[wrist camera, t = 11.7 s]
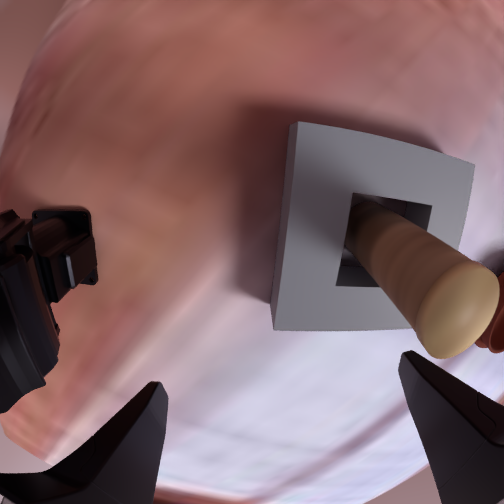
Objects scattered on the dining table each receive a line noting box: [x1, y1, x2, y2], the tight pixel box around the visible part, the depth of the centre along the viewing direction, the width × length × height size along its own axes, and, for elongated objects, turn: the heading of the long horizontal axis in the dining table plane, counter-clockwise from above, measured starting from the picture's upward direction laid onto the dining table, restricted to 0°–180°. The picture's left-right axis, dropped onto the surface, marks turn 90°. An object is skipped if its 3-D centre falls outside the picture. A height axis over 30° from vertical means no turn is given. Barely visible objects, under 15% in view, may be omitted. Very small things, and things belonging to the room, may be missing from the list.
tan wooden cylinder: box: [344, 202, 500, 359], centre depth 15 cm, size 5×5×12 cm
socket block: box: [270, 121, 475, 331], centre depth 20 cm, size 14×14×4 cm
